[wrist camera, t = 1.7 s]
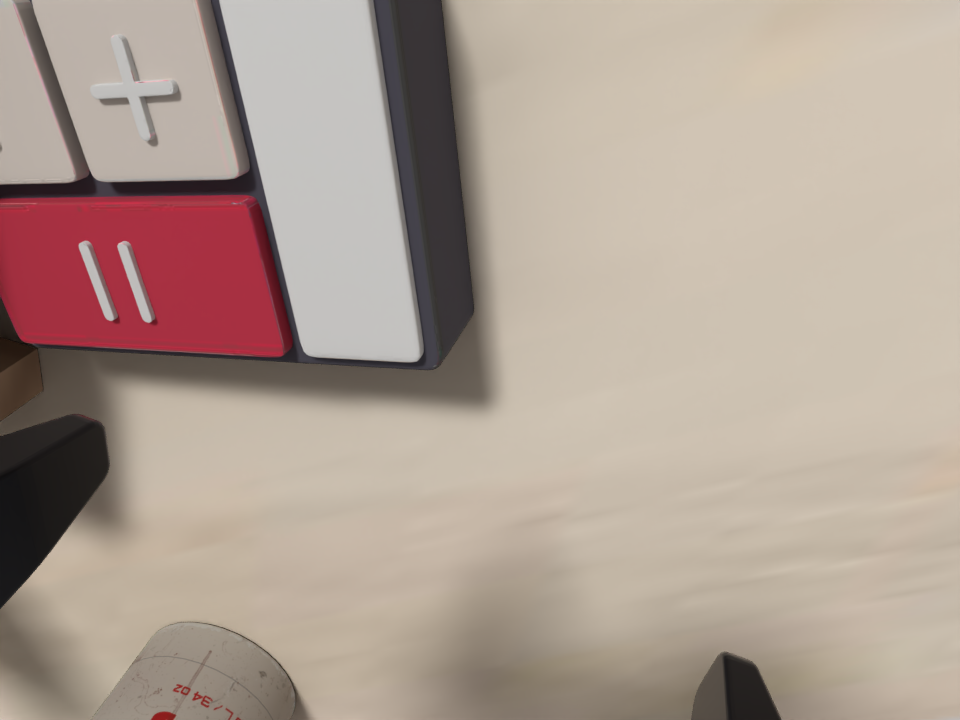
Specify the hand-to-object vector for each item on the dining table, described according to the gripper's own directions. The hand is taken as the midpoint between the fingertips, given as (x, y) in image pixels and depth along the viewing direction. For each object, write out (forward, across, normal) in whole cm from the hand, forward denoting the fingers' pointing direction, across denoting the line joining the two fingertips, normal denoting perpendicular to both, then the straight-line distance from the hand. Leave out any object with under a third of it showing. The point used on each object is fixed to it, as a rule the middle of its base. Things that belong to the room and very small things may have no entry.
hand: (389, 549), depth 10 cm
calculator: (+13, +11, +1) cm, 17 cm away
